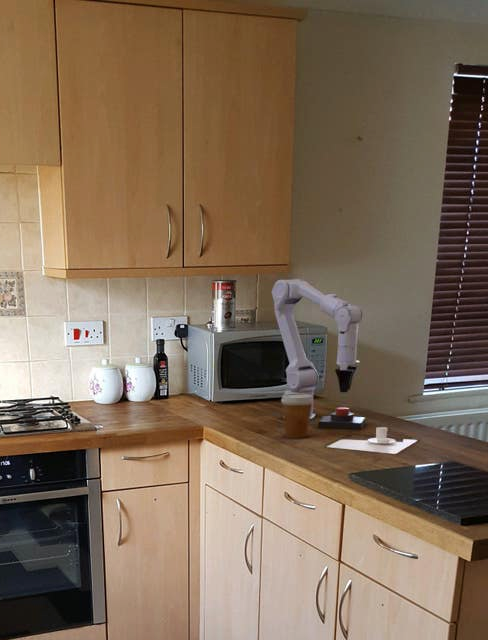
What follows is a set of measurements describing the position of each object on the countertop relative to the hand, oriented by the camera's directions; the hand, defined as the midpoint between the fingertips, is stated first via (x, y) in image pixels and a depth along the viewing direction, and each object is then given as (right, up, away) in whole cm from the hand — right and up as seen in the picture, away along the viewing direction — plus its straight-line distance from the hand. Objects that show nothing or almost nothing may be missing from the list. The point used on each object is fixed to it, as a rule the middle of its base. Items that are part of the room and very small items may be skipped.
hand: (345, 390), depth 274 cm
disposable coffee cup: (-17, -16, -12) cm, 27 cm away
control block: (-1, -11, 0) cm, 11 cm away
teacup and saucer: (+3, -21, -25) cm, 32 cm away
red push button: (-1, -8, -1) cm, 8 cm away
